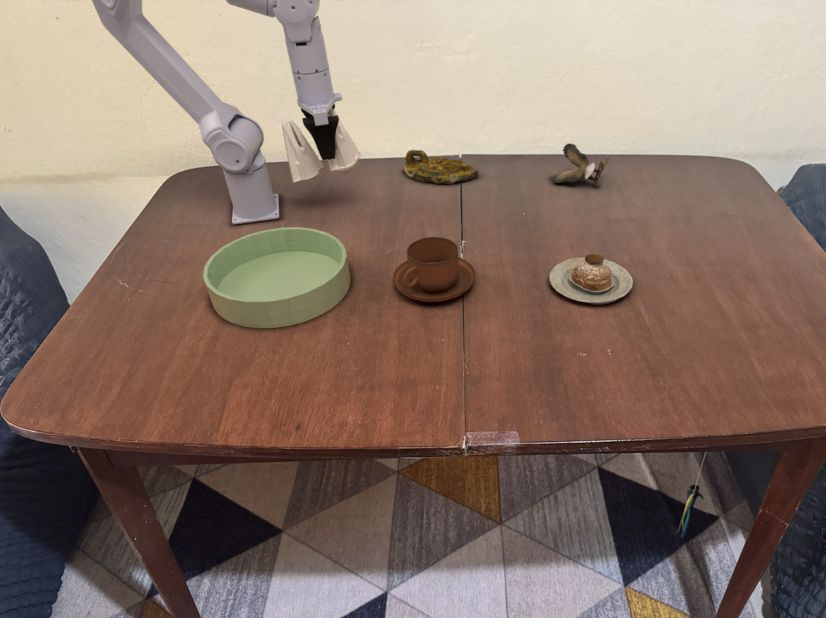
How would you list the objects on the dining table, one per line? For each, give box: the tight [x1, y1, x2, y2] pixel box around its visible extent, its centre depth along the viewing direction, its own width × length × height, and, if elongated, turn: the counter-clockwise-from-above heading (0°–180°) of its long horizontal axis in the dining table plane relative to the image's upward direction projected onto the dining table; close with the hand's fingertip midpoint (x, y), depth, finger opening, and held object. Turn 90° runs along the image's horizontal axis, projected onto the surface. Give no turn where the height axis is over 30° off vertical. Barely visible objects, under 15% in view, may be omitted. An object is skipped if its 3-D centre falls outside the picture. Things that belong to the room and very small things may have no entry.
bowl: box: [202, 226, 352, 329], centre depth 94 cm, size 20×20×4 cm
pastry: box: [548, 253, 634, 306], centre depth 92 cm, size 12×12×5 cm
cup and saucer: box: [392, 236, 476, 303], centre depth 93 cm, size 12×12×6 cm
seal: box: [403, 149, 479, 185], centre depth 124 cm, size 9×5×15 cm
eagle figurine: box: [551, 143, 610, 188], centre depth 118 cm, size 8×7×9 cm
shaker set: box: [281, 107, 362, 183], centre depth 106 cm, size 12×4×11 cm, turn 99°
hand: (327, 153), depth 108 cm, fingers closed on shaker set, 4 cm apart
